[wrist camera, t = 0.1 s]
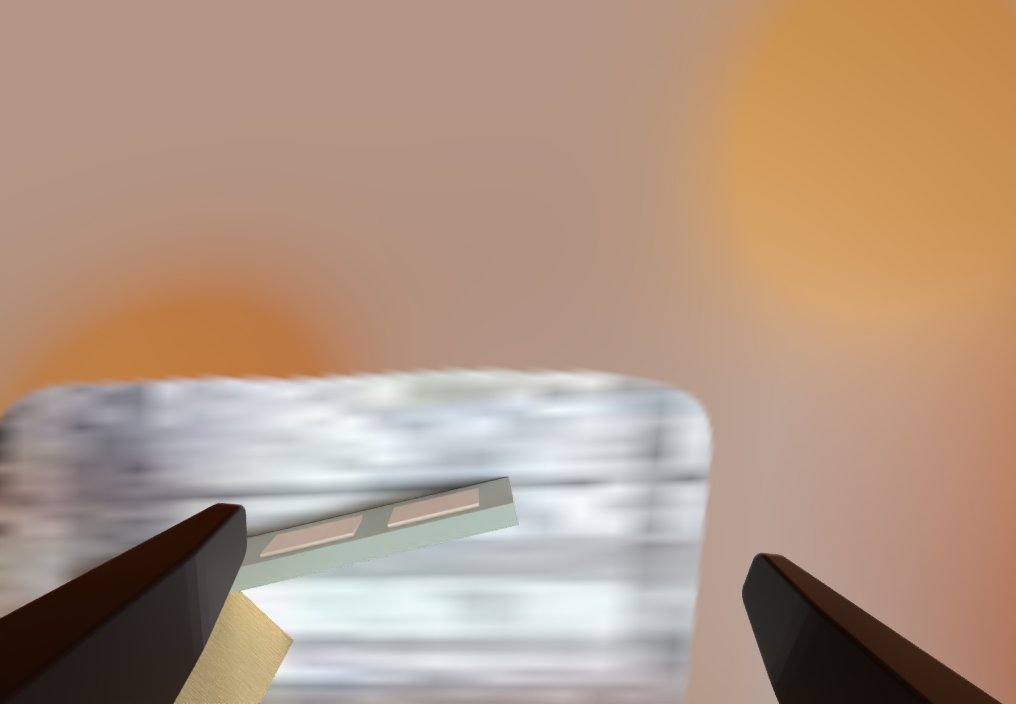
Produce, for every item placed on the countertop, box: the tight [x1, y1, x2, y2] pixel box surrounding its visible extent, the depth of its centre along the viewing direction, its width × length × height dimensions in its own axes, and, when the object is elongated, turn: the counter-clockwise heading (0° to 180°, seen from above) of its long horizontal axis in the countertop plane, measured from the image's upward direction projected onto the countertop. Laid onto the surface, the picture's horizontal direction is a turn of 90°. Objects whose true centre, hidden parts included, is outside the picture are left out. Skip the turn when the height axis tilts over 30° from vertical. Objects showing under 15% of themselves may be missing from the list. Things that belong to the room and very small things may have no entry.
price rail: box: [229, 477, 519, 593], centre depth 23 cm, size 18×1×3 cm, turn 102°
